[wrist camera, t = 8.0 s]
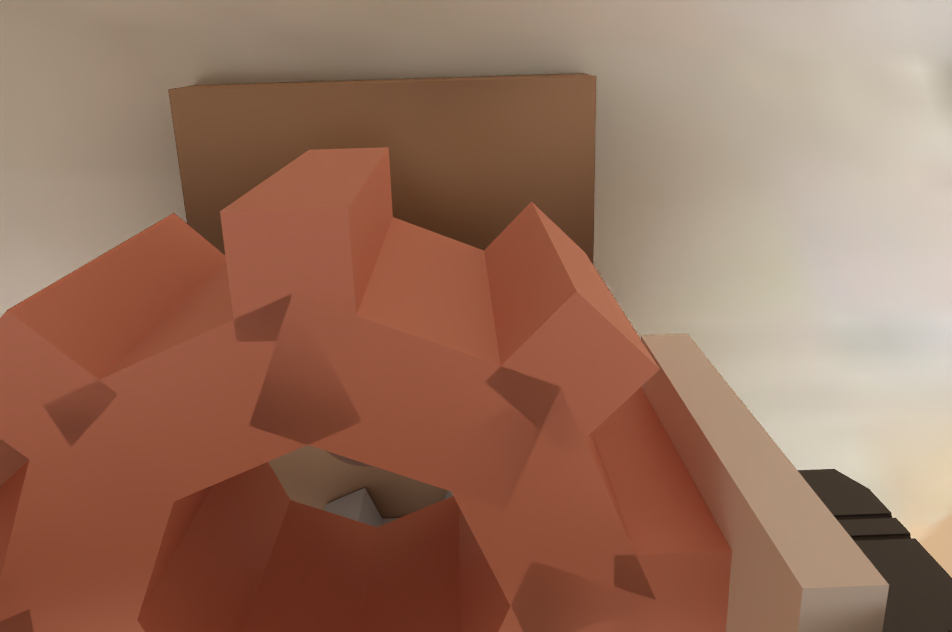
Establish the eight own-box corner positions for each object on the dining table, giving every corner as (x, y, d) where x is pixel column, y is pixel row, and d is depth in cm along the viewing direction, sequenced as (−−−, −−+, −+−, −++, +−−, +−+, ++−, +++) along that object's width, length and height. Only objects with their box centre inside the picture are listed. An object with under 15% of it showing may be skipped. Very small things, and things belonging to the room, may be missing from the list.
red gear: (-5, 296, 13) (-267, 437, 8) (504, 58, 12) (536, 64, 7) (263, 702, 16) (179, 987, 11) (701, 530, 15) (818, 760, 10)
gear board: (193, 85, 21) (-20, 121, 12) (583, 73, 21) (690, 98, 12) (275, 709, 28) (181, 1066, 18) (576, 696, 28) (641, 1044, 18)
